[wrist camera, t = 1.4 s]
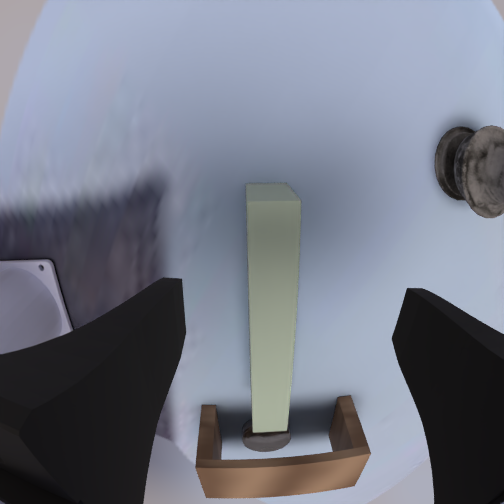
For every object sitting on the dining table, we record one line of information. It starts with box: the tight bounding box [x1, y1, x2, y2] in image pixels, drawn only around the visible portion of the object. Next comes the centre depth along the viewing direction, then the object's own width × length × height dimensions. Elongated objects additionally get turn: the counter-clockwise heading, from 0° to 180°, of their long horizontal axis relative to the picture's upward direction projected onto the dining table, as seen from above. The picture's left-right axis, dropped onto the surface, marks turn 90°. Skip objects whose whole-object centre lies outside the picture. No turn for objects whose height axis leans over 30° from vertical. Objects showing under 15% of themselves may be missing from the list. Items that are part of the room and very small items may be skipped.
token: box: [242, 419, 291, 452], centre depth 26 cm, size 4×4×2 cm
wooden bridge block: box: [196, 395, 371, 498], centre depth 23 cm, size 13×6×7 cm, turn 91°
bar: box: [246, 183, 301, 432], centre depth 19 cm, size 2×16×5 cm, turn 1°
